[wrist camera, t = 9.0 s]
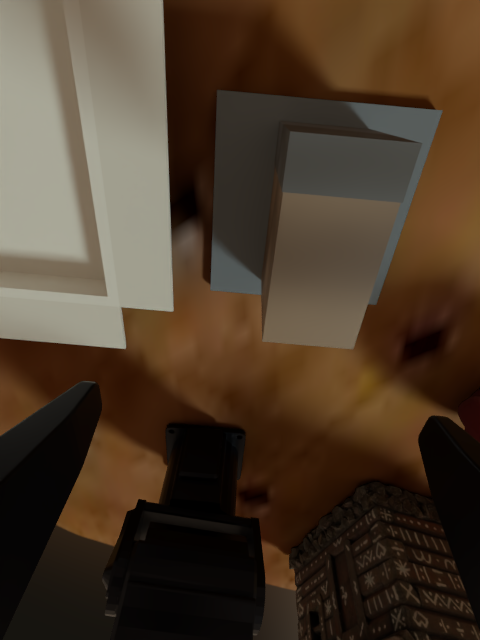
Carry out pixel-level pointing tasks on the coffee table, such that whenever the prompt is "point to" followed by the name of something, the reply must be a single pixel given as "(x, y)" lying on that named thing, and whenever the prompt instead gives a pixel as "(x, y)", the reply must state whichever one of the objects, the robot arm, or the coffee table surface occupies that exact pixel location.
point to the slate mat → (258, 170)
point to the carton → (82, 169)
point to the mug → (471, 415)
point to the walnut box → (329, 229)
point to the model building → (380, 573)
